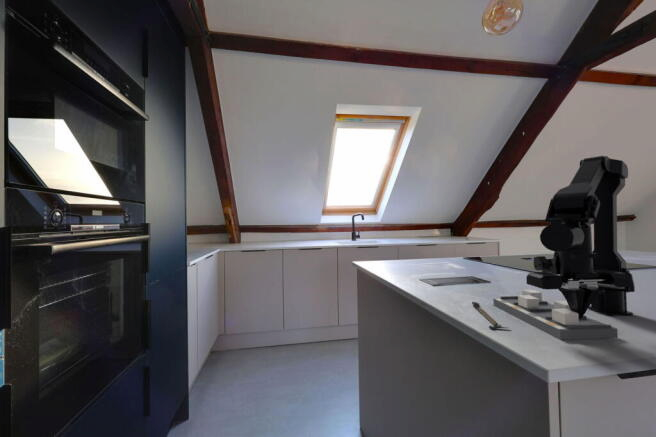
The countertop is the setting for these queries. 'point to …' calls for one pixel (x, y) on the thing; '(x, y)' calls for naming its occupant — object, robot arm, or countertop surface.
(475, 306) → the claw hammer
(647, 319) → the countertop surface
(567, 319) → the off-white short block
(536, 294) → the white rectangular block
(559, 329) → the switch bank
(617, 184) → the robot arm
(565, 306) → the white rectangular block
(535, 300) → the tab
